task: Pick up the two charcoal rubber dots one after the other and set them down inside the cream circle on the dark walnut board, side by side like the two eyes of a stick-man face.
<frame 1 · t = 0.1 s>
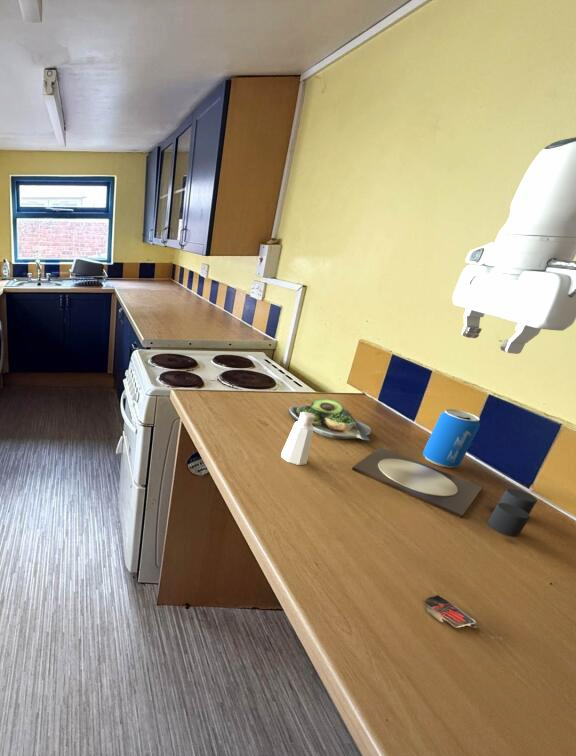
hand: (487, 344, 66), 31 cm above the worktop, tool pointing down, fingers open, 8 cm apart
salad plate: (326, 424, 107), on the worktop
dot left: (511, 512, 76), on the worktop
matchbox: (445, 614, 54), on the worktop
beverage can: (439, 462, 92), on the worktop
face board: (414, 479, 84), on the worktop
pepper shaker: (293, 459, 89), on the worktop
dot right: (502, 528, 71), on the worktop
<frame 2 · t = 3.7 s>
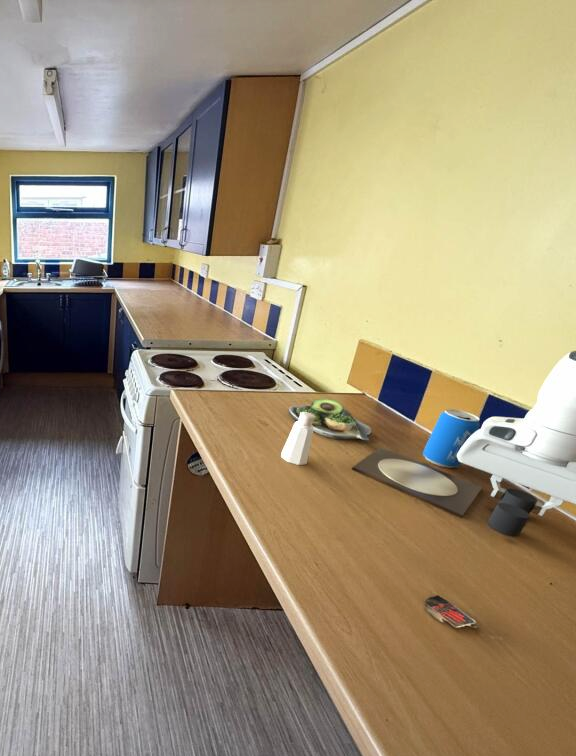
hand: (515, 504, 75), 2 cm above the worktop, tool pointing down, fingers closed on dot left, 4 cm apart
dot left: (511, 512, 76), on the worktop, touching gripper
everything else where it was.
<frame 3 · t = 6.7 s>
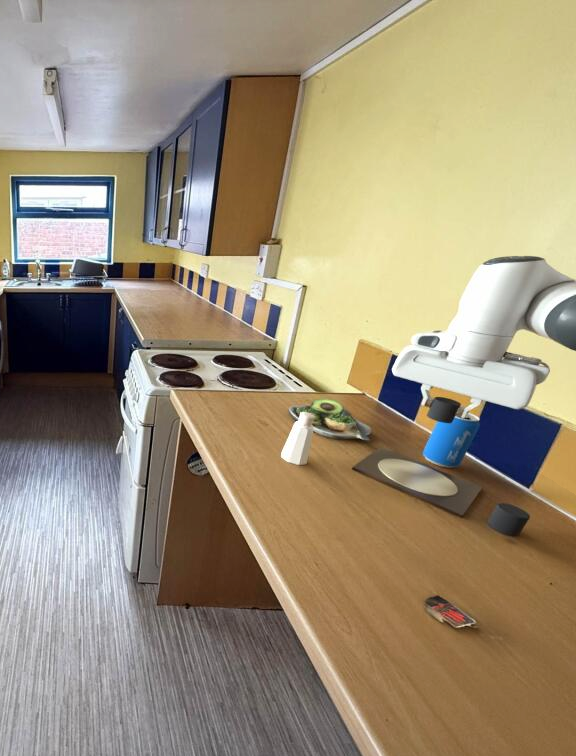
hand: (442, 411, 81), 15 cm above the worktop, tool pointing down, fingers closed on dot left, 4 cm apart
dot left: (439, 418, 82), point 13 cm above the worktop, touching gripper
everything else where it was.
when the fingers open (2 cm above the worktop, at t = 10.0 s): dot left stays where it is, resting on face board.
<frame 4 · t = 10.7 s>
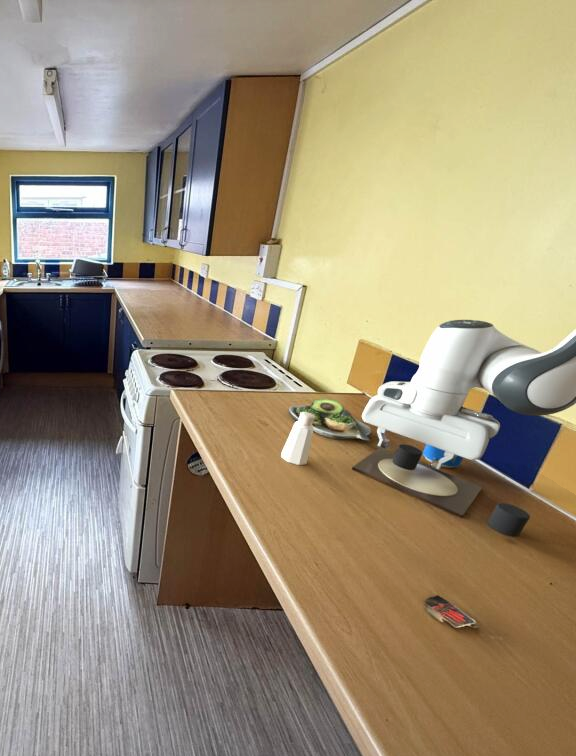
hand: (407, 456, 87), 3 cm above the worktop, tool pointing down, fingers open, 8 cm apart
dot left: (403, 464, 88), point 1 cm above the worktop, touching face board
everything else where it was.
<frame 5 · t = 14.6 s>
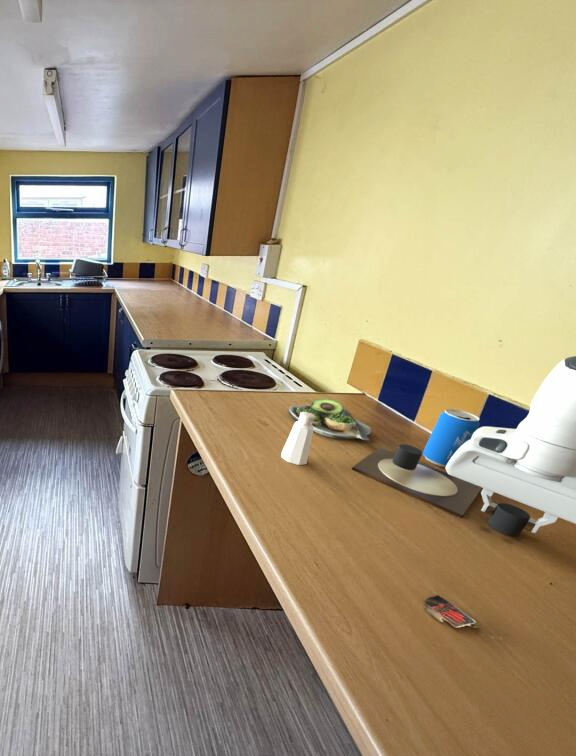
hand: (507, 520, 71), 2 cm above the worktop, tool pointing down, fingers closed on dot right, 4 cm apart
dot right: (502, 528, 71), on the worktop, touching gripper
everything else where it was.
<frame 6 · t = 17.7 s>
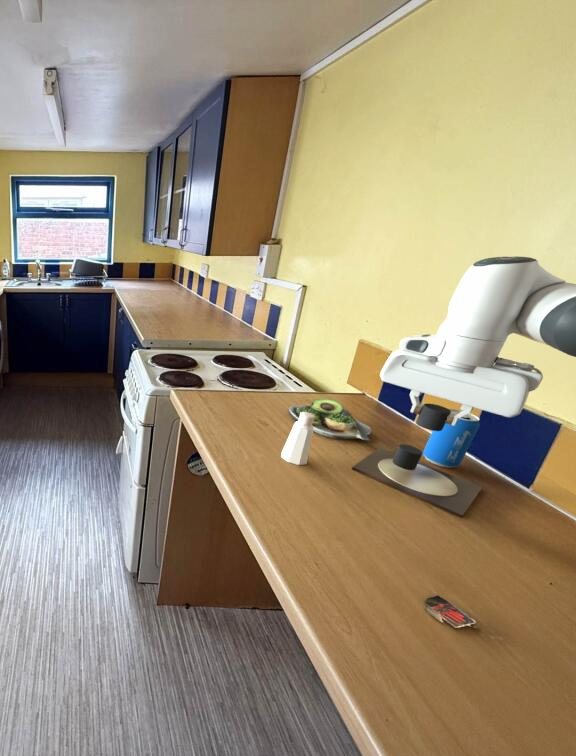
hand: (432, 418, 78), 15 cm above the worktop, tool pointing down, fingers closed on dot right, 4 cm apart
dot right: (428, 426, 78), point 13 cm above the worktop, touching gripper
everything else where it was.
when the fingers open (2 cm above the worktop, at t = 20.9 s): dot right stays where it is, resting on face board.
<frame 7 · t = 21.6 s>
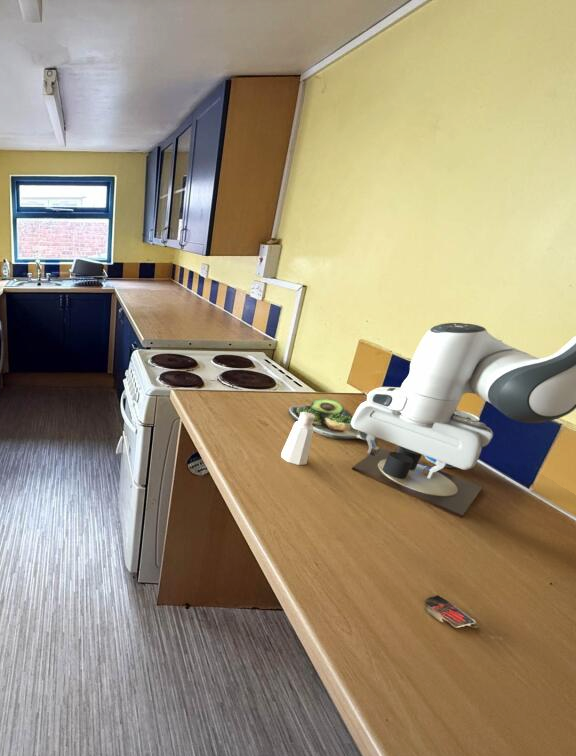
hand: (398, 465, 84), 3 cm above the worktop, tool pointing down, fingers open, 8 cm apart
dot right: (394, 473, 85), point 1 cm above the worktop, touching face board
everything else where it was.
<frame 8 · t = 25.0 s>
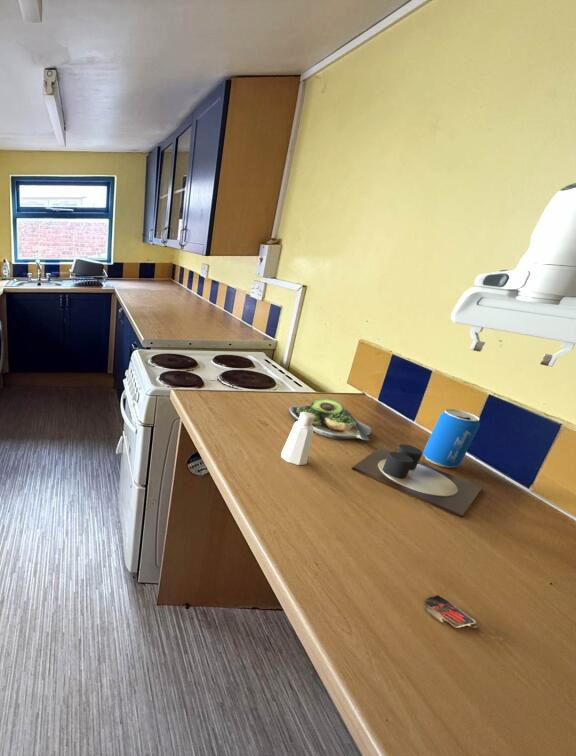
hand: (509, 357, 75), 27 cm above the worktop, tool pointing down, fingers open, 8 cm apart
nothing on the worktop moved.
at the end: dot left 4.2 cm from the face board (horizontally); dot right 4.3 cm from the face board (horizontally); dot left touching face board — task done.
